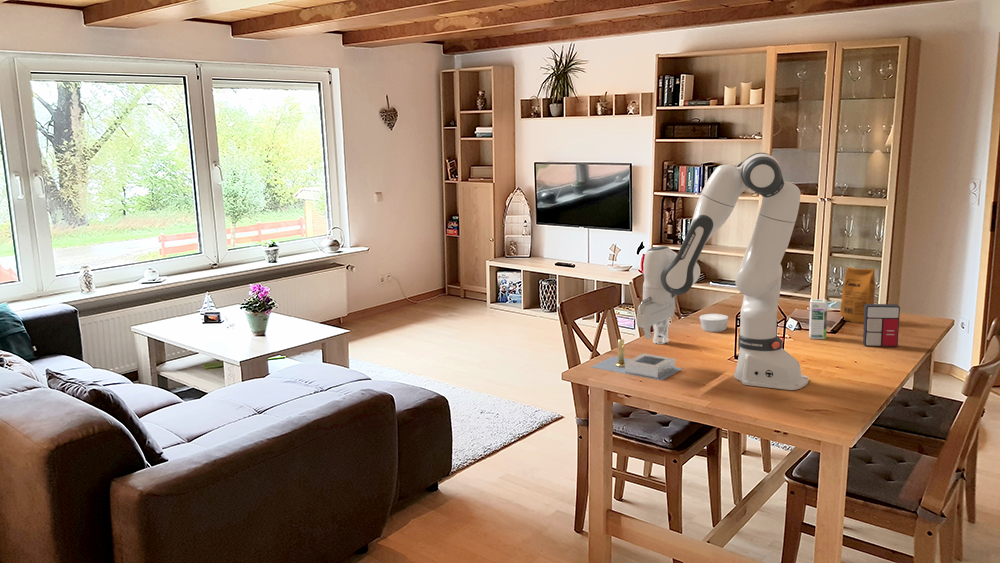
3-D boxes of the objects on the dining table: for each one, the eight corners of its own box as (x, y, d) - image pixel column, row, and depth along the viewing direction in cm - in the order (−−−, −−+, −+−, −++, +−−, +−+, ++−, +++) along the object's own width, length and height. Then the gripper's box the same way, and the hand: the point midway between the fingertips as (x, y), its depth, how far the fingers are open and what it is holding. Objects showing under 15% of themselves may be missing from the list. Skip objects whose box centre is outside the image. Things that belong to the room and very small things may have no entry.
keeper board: (683, 372, 253) (683, 368, 253) (661, 385, 242) (661, 380, 242) (613, 360, 270) (613, 356, 270) (590, 371, 259) (590, 366, 259)
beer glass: (670, 344, 287) (670, 306, 284) (651, 344, 288) (651, 305, 286) (669, 339, 294) (670, 302, 291) (651, 339, 295) (651, 301, 292)
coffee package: (846, 315, 319) (848, 264, 315) (877, 320, 310) (879, 267, 306) (835, 320, 312) (838, 267, 308) (867, 325, 303) (869, 270, 299)
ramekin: (698, 332, 303) (699, 319, 302) (700, 325, 313) (700, 313, 312) (728, 333, 300) (728, 320, 299) (728, 326, 310) (728, 313, 309)
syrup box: (809, 339, 287) (811, 301, 284) (808, 335, 292) (810, 298, 289) (826, 339, 285) (827, 302, 282) (824, 335, 290) (826, 298, 288)
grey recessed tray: (674, 369, 253) (674, 358, 252) (657, 378, 244) (657, 367, 243) (642, 363, 260) (642, 353, 260) (625, 372, 251) (625, 362, 251)
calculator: (865, 346, 274) (867, 306, 271) (862, 343, 278) (864, 303, 275) (898, 347, 271) (900, 306, 268) (895, 344, 275) (897, 304, 273)
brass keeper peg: (629, 364, 259) (629, 339, 257) (623, 367, 256) (623, 342, 254) (619, 363, 262) (618, 337, 260) (613, 366, 259) (612, 340, 257)
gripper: (649, 302, 241) (648, 343, 244) (678, 290, 257) (677, 330, 259) (632, 299, 245) (631, 340, 248) (661, 288, 261) (660, 327, 263)
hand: (655, 335), depth 254 cm, fingers open, 8 cm apart
